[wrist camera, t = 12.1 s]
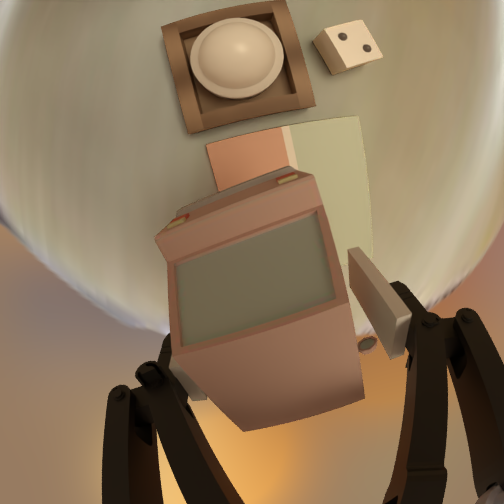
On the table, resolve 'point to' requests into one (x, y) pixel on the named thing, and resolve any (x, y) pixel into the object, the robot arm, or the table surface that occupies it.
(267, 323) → the toy car
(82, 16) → the table surface
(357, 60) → the die
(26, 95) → the table surface
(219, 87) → the dome
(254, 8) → the dome housing
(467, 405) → the robot arm
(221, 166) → the board
